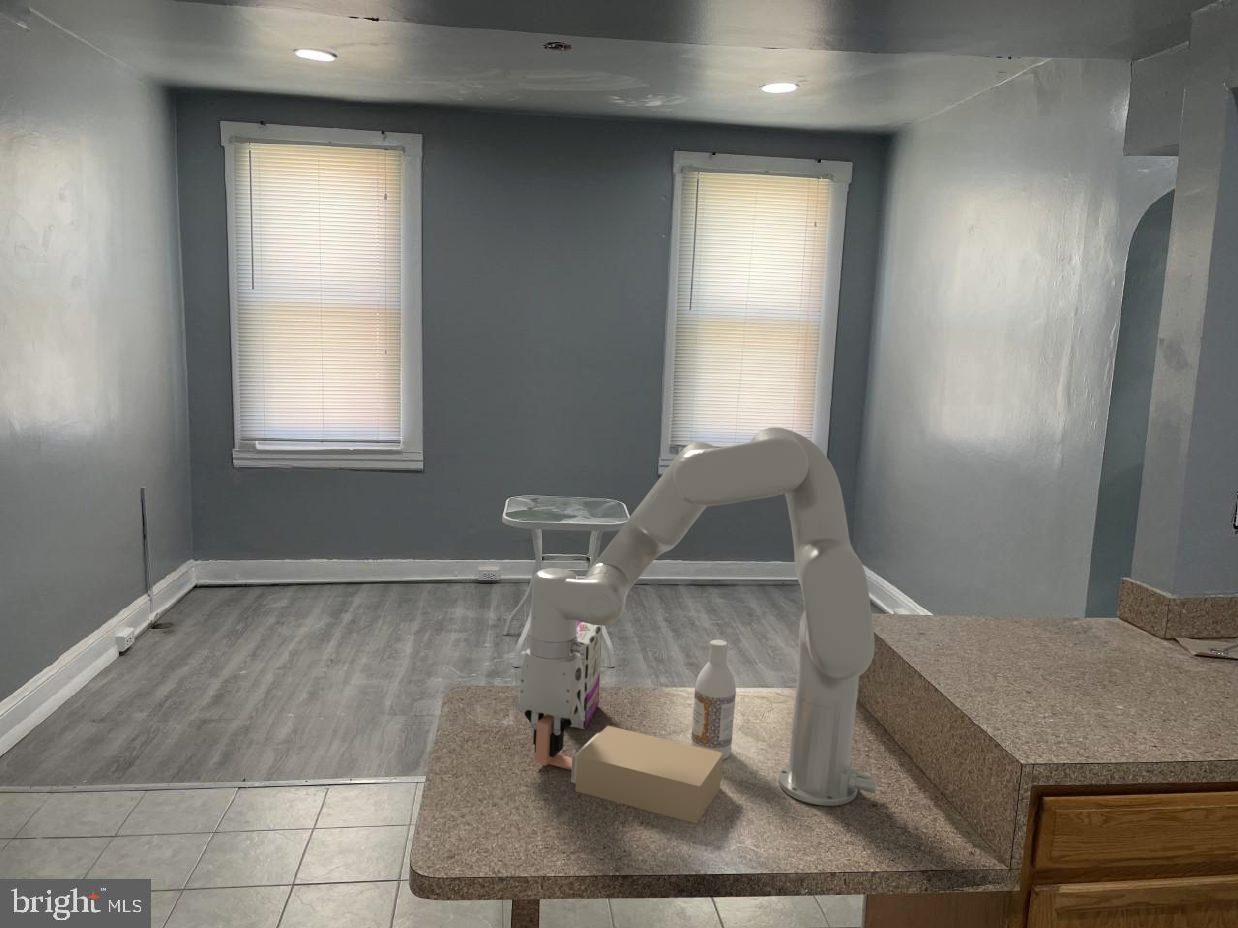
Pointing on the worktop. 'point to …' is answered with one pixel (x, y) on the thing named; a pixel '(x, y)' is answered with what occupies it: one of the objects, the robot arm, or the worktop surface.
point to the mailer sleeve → (649, 773)
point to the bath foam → (714, 703)
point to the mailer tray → (543, 747)
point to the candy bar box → (589, 668)
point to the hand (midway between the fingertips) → (547, 750)
